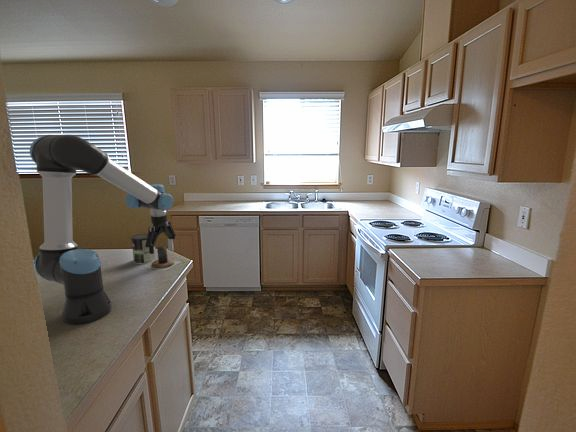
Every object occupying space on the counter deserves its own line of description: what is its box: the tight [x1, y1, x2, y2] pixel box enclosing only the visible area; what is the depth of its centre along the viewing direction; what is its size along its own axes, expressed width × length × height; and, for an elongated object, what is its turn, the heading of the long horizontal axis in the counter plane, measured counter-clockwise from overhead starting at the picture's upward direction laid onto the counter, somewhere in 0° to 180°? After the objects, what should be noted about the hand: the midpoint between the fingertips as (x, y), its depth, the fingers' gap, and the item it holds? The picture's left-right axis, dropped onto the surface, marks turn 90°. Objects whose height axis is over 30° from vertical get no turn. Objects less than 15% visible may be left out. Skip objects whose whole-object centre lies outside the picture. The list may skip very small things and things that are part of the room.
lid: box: [151, 245, 175, 268], centre depth 161 cm, size 11×11×9 cm
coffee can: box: [130, 233, 154, 265], centre depth 166 cm, size 10×10×14 cm
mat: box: [144, 260, 182, 271], centre depth 162 cm, size 13×13×1 cm
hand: (162, 254), depth 161 cm, fingers open, 13 cm apart
